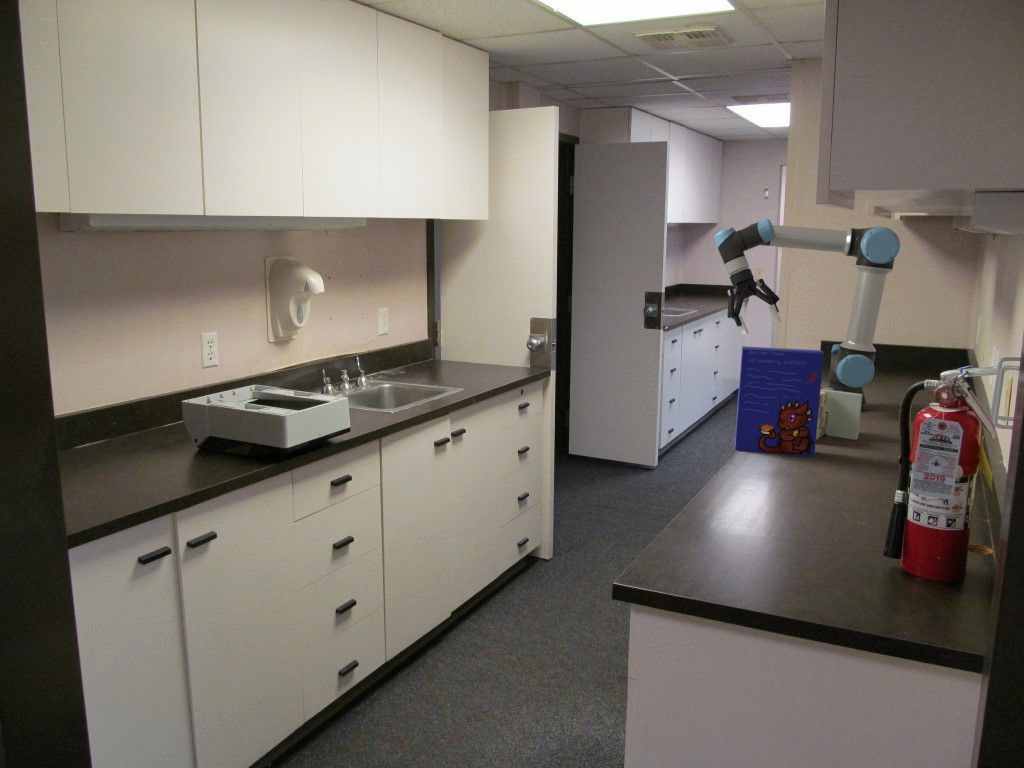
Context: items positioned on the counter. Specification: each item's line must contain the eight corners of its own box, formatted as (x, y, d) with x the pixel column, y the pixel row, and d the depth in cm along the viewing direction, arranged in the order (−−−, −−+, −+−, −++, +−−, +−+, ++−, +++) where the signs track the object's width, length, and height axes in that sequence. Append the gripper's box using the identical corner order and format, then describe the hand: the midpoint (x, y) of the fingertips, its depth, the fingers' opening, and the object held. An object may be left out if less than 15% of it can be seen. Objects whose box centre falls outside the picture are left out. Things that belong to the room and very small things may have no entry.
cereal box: (811, 451, 239) (821, 349, 233) (814, 456, 233) (823, 352, 228) (734, 445, 244) (742, 345, 238) (735, 450, 238) (742, 348, 233)
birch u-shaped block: (821, 429, 265) (825, 387, 262) (829, 430, 263) (833, 388, 261) (802, 442, 249) (806, 397, 246) (810, 443, 248) (814, 398, 245)
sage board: (784, 428, 266) (788, 386, 263) (787, 427, 268) (790, 385, 265) (855, 439, 253) (860, 395, 250) (857, 438, 255) (862, 394, 252)
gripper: (763, 265, 292) (785, 320, 291) (704, 285, 286) (726, 341, 284) (774, 258, 285) (797, 315, 284) (714, 278, 278) (737, 337, 277)
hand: (762, 328), depth 284 cm, fingers open, 13 cm apart
